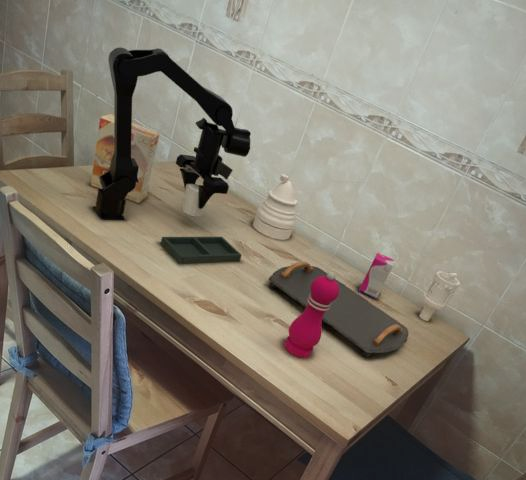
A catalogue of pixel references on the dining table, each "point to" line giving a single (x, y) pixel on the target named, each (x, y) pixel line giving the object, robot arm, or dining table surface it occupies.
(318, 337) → the pepper mill
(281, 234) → the honey pot
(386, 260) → the supplement box
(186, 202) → the shot glass
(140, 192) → the coffeecake box
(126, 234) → the dining table surface
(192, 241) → the divided green tray
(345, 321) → the serving tray
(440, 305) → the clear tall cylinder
